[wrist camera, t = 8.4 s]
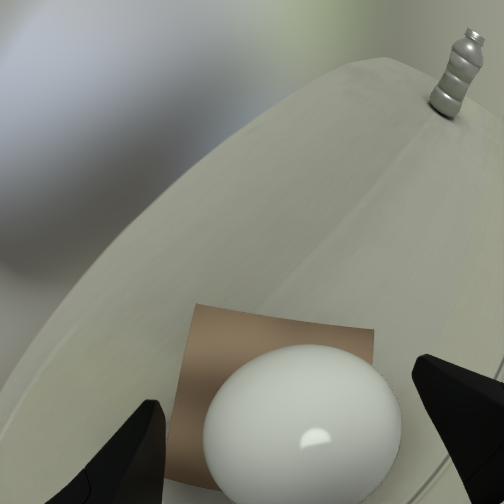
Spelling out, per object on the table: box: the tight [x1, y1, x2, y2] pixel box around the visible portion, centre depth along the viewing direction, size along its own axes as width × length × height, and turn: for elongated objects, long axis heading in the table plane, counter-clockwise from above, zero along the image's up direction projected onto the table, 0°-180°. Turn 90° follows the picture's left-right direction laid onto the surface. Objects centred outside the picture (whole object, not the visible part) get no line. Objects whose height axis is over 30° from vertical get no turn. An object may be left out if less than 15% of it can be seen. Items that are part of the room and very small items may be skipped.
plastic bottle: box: [430, 28, 485, 117], centre depth 29 cm, size 6×7×20 cm
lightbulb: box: [202, 344, 402, 504], centre depth 9 cm, size 6×6×11 cm
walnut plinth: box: [164, 304, 374, 491], centre depth 15 cm, size 12×12×2 cm
